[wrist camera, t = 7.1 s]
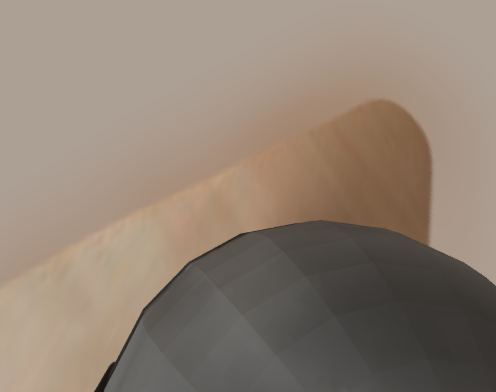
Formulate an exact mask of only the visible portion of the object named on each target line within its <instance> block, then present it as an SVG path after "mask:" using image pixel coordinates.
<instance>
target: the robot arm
mask: <svg viewBox="0 0 496 392" xmlns="http://www.w3.org/2000/svg"><path fill="white" fill-rule="evenodd" d="M114 364H115V362H113V363H112V364H110V366H109V367H108V369H107V371H106V372H105V374H104V376H103V378H102V379H101V381H100V383H99V384H98V386H97V388H96V389H95V391H94V392H104V389H105V388H106V386H107V382H108V378H109V374H110V372H111V370H112V368H113V366H114Z"/></svg>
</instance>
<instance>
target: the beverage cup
mask: <svg viewBox="0 0 496 392" xmlns="http://www.w3.org/2000/svg"><path fill="white" fill-rule="evenodd" d="M104 392H496V286H495V285H494V284H493V283H492V282H490V281H489V280H488V279H487V278H486V277H484V276H483V275H482V274H480V273H479V272H477V271H476V270H474V269H473V268H471V267H470V266H468V265H467V264H465V263H464V262H462V261H459V260H457V259H455V258H453V257H450V256H448V255H446V254H444V253H442V252H440V251H437V250H435V249H433V248H431V247H429V246H426V245H424V244H422V243H420V242H418V241H415V240H413V239H411V238H409V237H407V236H404V235H402V234H400V233H397V232H393V231H390V230H387V229H383V228H375V227H368V226H360V225H352V224H345V223H337V222H329V221H322V220H319V221H310V222H304V223H295V224H290V225H285V226H279V227H274V228H269V229H263V230H258V231H253V232H247V233H242V234H239V235H237V236H236V237H234V238H232V239H230V240H228V241H226V242H225V243H223V244H221V245H219V246H217V247H215V248H214V249H212V250H210V251H208V252H206V253H204V254H203V255H201V256H199V257H197V258H195V259H193V260H192V261H190V262H188V263H187V264H186V265H185V266H184V267H183V269H182V270H181V271H180V272H179V273H178V274H177V275H176V276H175V277H174V278H173V279H172V280H171V281H170V282H169V283H168V284H167V285H166V286H165V287H164V288H163V289H162V290H161V291H160V292H159V293H158V294H157V295H156V296H155V297H154V298H153V300H152V301H151V302H150V303H149V304H148V305H147V306H146V307H145V308H144V309H143V311H142V312H141V314H140V316H139V318H138V320H137V322H136V324H135V326H134V328H133V330H132V332H131V333H130V335H129V337H128V339H127V341H126V343H125V345H124V347H123V349H122V351H121V353H120V354H119V356H118V358H117V360H116V362H115V364H114V366H113V368H112V370H111V372H110V374H109V378H108V382H107V386H106V388H105V389H104Z"/></svg>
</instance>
